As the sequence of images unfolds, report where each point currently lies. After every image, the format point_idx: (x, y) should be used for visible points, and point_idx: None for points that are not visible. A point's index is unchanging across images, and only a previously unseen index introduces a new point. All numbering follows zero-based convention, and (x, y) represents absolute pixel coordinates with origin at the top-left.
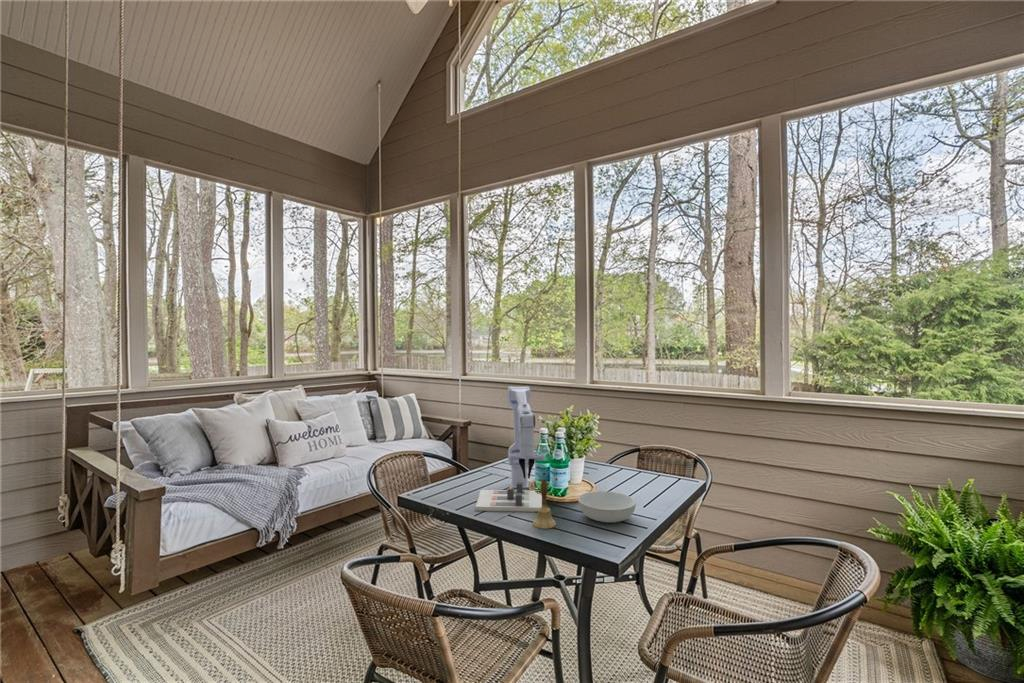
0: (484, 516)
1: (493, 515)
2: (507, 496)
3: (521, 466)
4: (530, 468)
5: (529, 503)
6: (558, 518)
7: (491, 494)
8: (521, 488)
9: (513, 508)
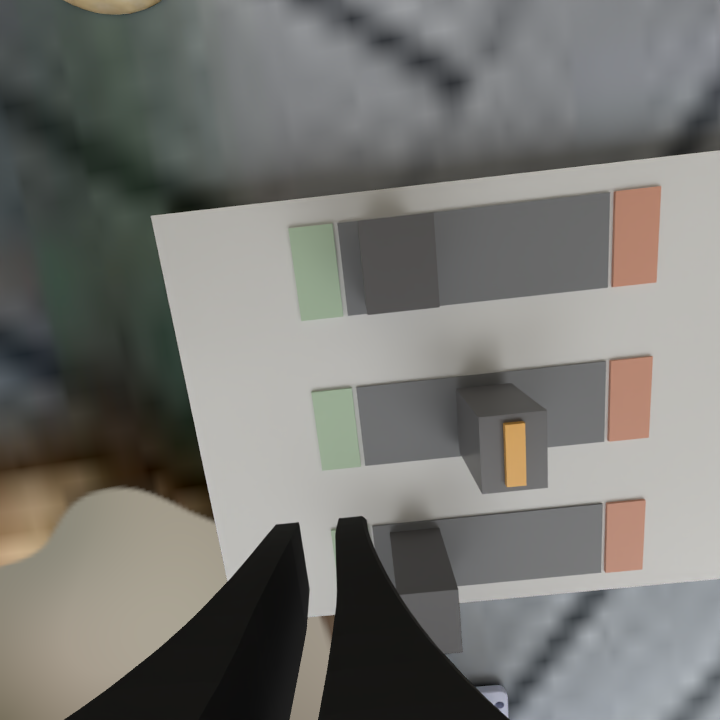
0: (676, 10)
1: (594, 51)
2: (516, 387)
3: (432, 669)
4: (185, 651)
5: (296, 308)
6: (7, 72)
7: (656, 480)
8: (403, 563)
9: (429, 185)
